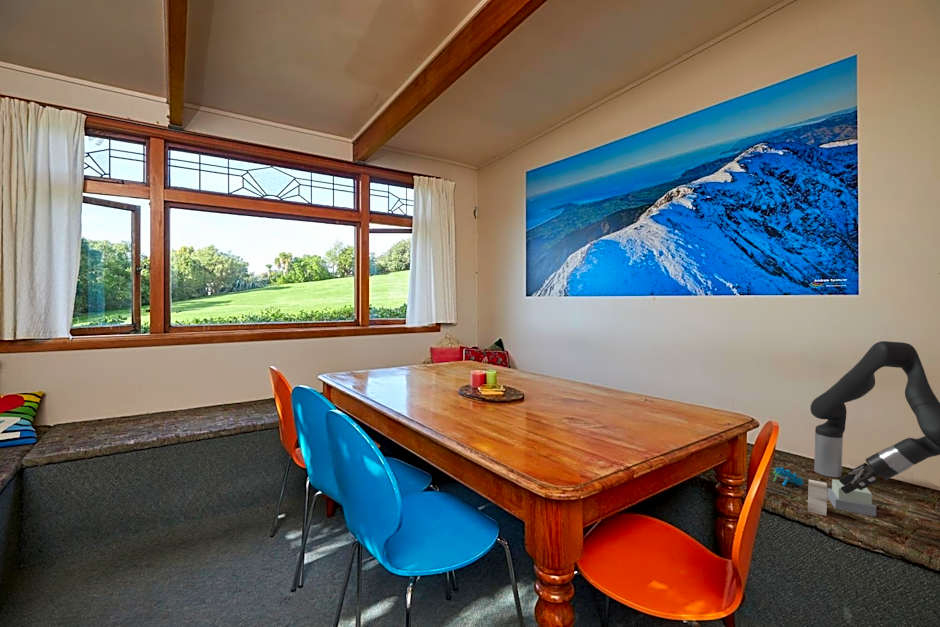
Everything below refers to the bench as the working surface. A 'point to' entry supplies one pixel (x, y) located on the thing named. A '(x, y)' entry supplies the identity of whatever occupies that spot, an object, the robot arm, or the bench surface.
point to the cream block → (817, 497)
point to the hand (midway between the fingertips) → (842, 486)
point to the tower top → (852, 494)
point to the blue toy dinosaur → (787, 476)
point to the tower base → (851, 505)
